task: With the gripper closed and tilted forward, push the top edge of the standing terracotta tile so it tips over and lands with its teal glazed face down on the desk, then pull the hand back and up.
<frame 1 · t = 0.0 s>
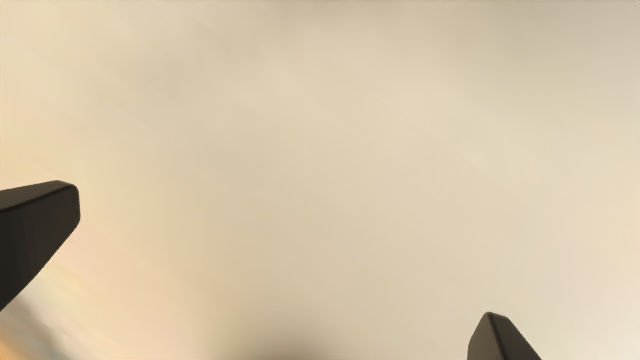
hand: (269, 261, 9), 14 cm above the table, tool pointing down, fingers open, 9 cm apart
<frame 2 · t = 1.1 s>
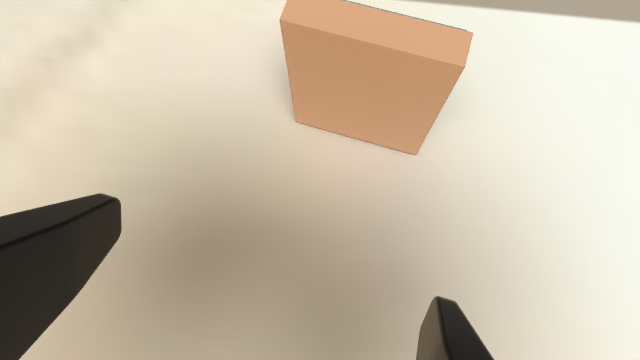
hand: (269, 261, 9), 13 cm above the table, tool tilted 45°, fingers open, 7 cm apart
glazed tile: (358, 126, 25), on the table
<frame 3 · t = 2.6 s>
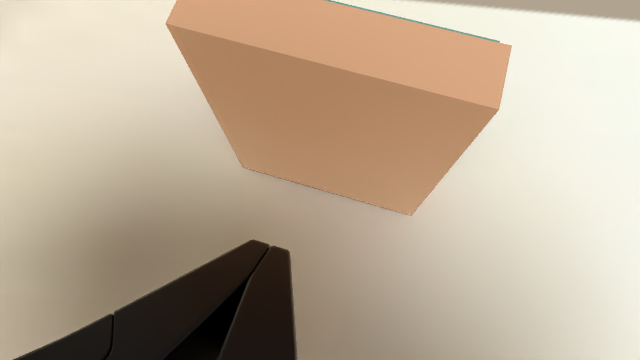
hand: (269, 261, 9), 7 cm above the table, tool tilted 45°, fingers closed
glazed tile: (330, 173, 18), on the table
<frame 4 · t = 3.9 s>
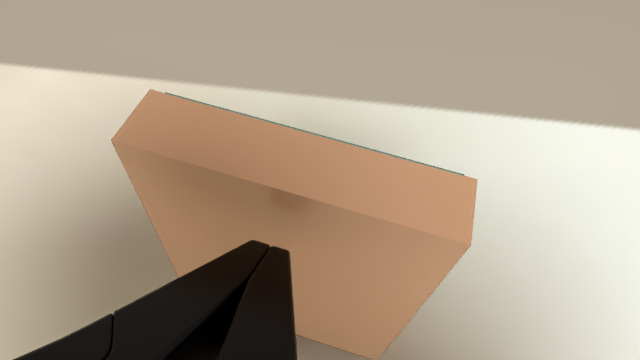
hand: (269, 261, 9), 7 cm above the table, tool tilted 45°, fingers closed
glazed tile: (288, 309, 16), on the table, tilted 17°
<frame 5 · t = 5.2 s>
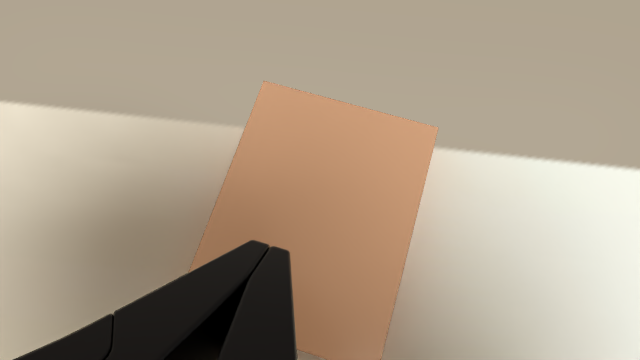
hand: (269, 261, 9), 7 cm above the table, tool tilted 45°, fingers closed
glazed tile: (275, 340, 15), on the table, tilted 90°
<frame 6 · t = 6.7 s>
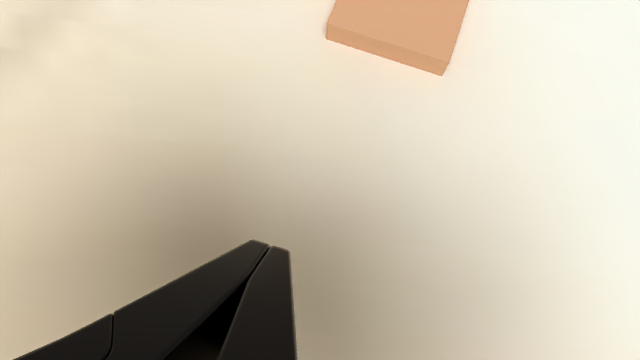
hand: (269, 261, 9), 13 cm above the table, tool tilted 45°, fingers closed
glazed tile: (385, 50, 24), on the table, tilted 90°
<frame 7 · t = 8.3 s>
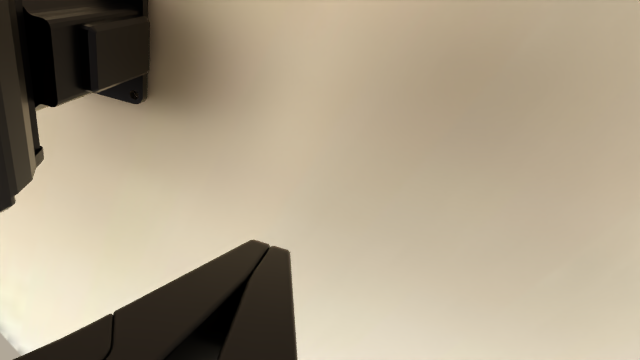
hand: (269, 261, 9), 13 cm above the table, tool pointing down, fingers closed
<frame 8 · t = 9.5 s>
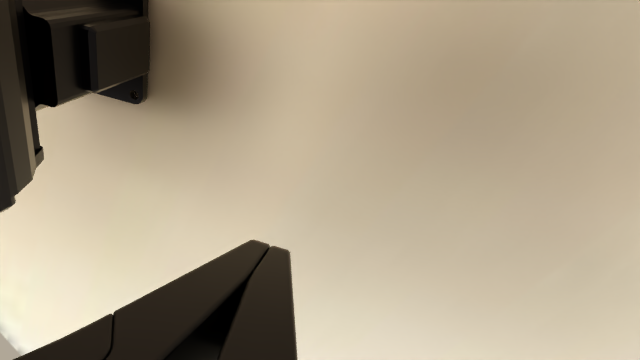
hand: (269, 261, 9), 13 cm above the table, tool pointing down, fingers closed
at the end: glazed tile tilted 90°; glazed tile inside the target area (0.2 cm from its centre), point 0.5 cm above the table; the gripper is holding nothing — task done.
